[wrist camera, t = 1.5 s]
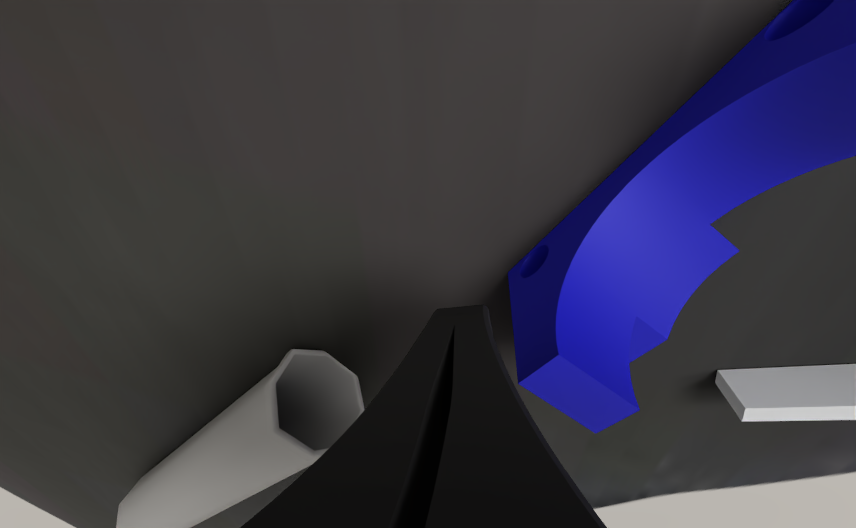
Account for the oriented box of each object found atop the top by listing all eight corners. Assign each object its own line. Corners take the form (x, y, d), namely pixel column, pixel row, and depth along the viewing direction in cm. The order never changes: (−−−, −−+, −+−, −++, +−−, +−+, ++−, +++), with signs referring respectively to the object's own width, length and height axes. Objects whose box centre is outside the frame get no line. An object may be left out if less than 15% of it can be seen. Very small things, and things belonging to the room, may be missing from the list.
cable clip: (584, 326, 16) (631, 456, 11) (507, 270, 15) (518, 383, 10) (921, 80, 10) (1385, 108, 5) (826, -36, 9) (1269, -152, 4)
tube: (169, 555, 28) (363, 467, 17) (87, 554, 25) (253, 445, 14) (195, 479, 32) (368, 365, 20) (126, 471, 29) (282, 332, 18)
